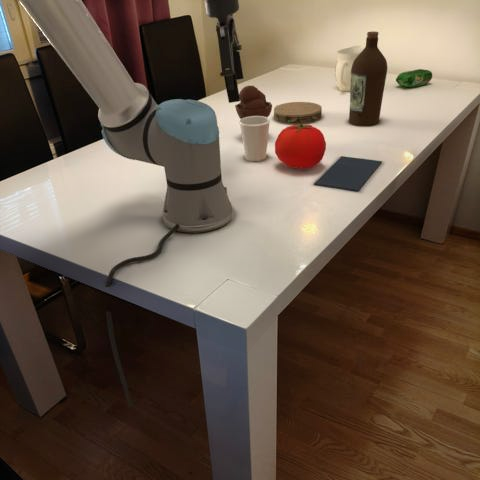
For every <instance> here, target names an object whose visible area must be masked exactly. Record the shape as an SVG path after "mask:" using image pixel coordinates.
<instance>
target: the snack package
mask: <svg viewBox="0 0 480 480" xmlns="http://www.w3.org/2000/svg"><path fill="white" fill-rule="evenodd" d="M432 79H433V72H432V70H429V69H423V68H419V69H414V70H407V71H403V72H400V73H399V74H398V75H397V76H396V78H395V82H396V83H397V84H398V86H400V87H406V88H416V87H421V86H424V85H427V84H429V83H430V81H431V80H432Z"/></svg>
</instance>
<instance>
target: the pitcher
mask: <svg viewBox="0 0 480 480" xmlns="http://www.w3.org/2000/svg"><path fill="white" fill-rule="evenodd" d="M363 50H364V48H363V47H361V45H354V46H351V47H347V48H342V49H339V50H338V51H337V61H336V64H335V67H334V68H335V70H334V76H335V78H334V79H335V82H336V85H337V88H338V89H339V91H341V92H347V93H348V92H350V87H351V68H352V65H353V62H354V60H355V59H356V57H357V56H358V55H359V54H360V53H361V52H362V51H363Z"/></svg>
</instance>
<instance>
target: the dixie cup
mask: <svg viewBox="0 0 480 480" xmlns="http://www.w3.org/2000/svg"><path fill="white" fill-rule="evenodd" d="M238 123H239V126H240V131H241V139H242V144H243V151H244V156H245V160H246V161H250V162H261V161H264V160H265V159H266V158H267V151H268V143H269V142H268V141H269V131H270V123H271V119H270V118H269V117H264V116H250V117H245V118H242V119H240V120H238Z"/></svg>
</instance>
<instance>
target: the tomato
mask: <svg viewBox="0 0 480 480" xmlns="http://www.w3.org/2000/svg"><path fill="white" fill-rule="evenodd" d="M326 151H327V142H326V139H325V135H324V134H323V132H322V131H321V130H320V129H319V128H317V127H315V126H313V125H312V124H299V125H288V126H286V127H285V128H282V129H281V131H280V132H279V134H278V135H277V137H276V140H275V142H274V153H275V155H276V157H277V159H278V160H279V161H280V162H282V164H284V165H286V166H289V167H290V168H293V169H306V170H309V169H311V168H314V167H316V166H318V164H320V163H321V162H322V161H323V158H324V157H325V153H326Z"/></svg>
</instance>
